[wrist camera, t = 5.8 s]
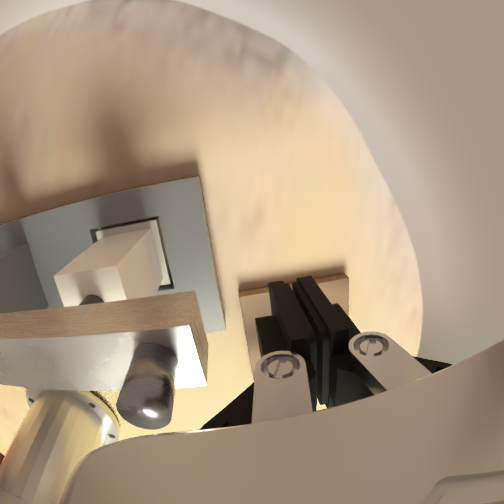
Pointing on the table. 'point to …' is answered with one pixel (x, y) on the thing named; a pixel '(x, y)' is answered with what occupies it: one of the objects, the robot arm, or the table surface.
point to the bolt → (110, 351)
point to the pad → (259, 306)
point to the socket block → (84, 235)
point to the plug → (117, 266)
